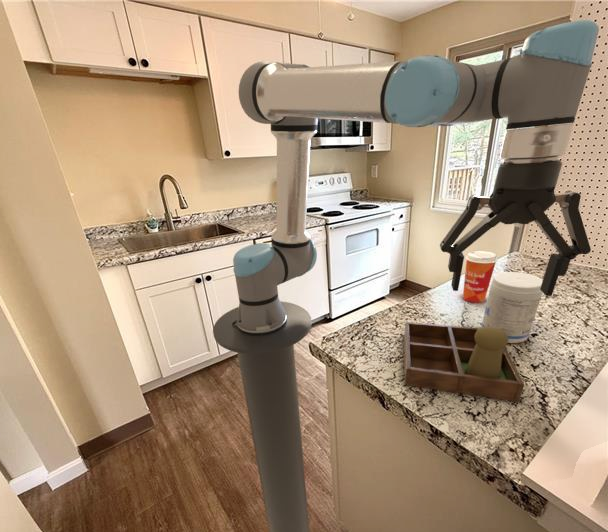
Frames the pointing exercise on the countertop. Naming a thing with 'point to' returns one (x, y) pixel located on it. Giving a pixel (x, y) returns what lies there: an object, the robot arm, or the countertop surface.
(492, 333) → the cork
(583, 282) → the countertop surface
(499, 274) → the supplement tub
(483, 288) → the paper cup
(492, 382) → the grid
